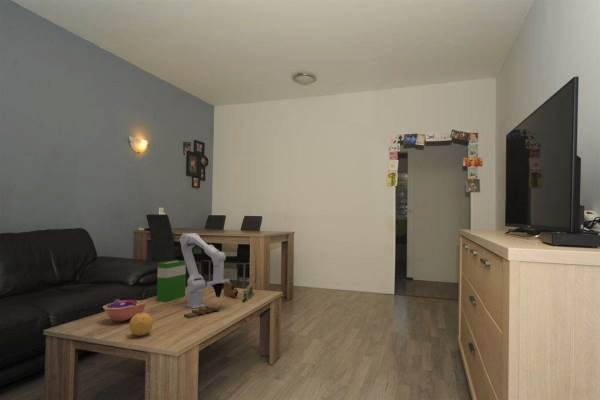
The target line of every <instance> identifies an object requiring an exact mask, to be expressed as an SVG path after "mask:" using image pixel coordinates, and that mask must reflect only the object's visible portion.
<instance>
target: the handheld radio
mask: <svg viewBox="0 0 600 400" xmlns="http://www.w3.org/2000/svg"><path fill="white" fill-rule="evenodd" d="M253 289H254V287H253V284H249V285H247V287H246V288H244V290H243V299H242V303H245V302H246V301H249V299H250V298H251V297H252V296H253V293H254V292H253V291H254V290H253Z"/></svg>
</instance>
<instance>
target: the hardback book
mask: <svg viewBox="0 0 600 400" xmlns="http://www.w3.org/2000/svg"><path fill="white" fill-rule="evenodd" d="M186 270H187V266H186V263H185V259H184V260H179V259H175V260H169V261H168V260H167V261H163V262H157V276H156V278H157V283H156V284H157V285H156V287H157V288H156V302H161V303H167V302H171V301H174V300H179V299H181V297H182V298H185V297H186V282H187V281H186V279H187V278H186V272H187V271H186ZM184 296H185V297H184Z"/></svg>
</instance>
